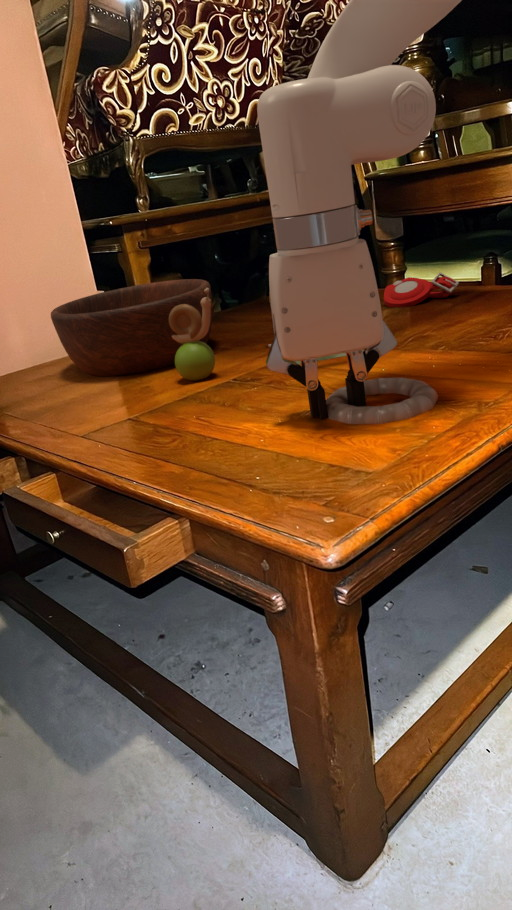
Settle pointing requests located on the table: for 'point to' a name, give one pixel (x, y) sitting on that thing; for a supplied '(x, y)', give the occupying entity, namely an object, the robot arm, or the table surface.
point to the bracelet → (415, 405)
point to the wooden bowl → (126, 326)
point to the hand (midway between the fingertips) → (339, 418)
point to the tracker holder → (417, 290)
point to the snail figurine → (192, 340)
